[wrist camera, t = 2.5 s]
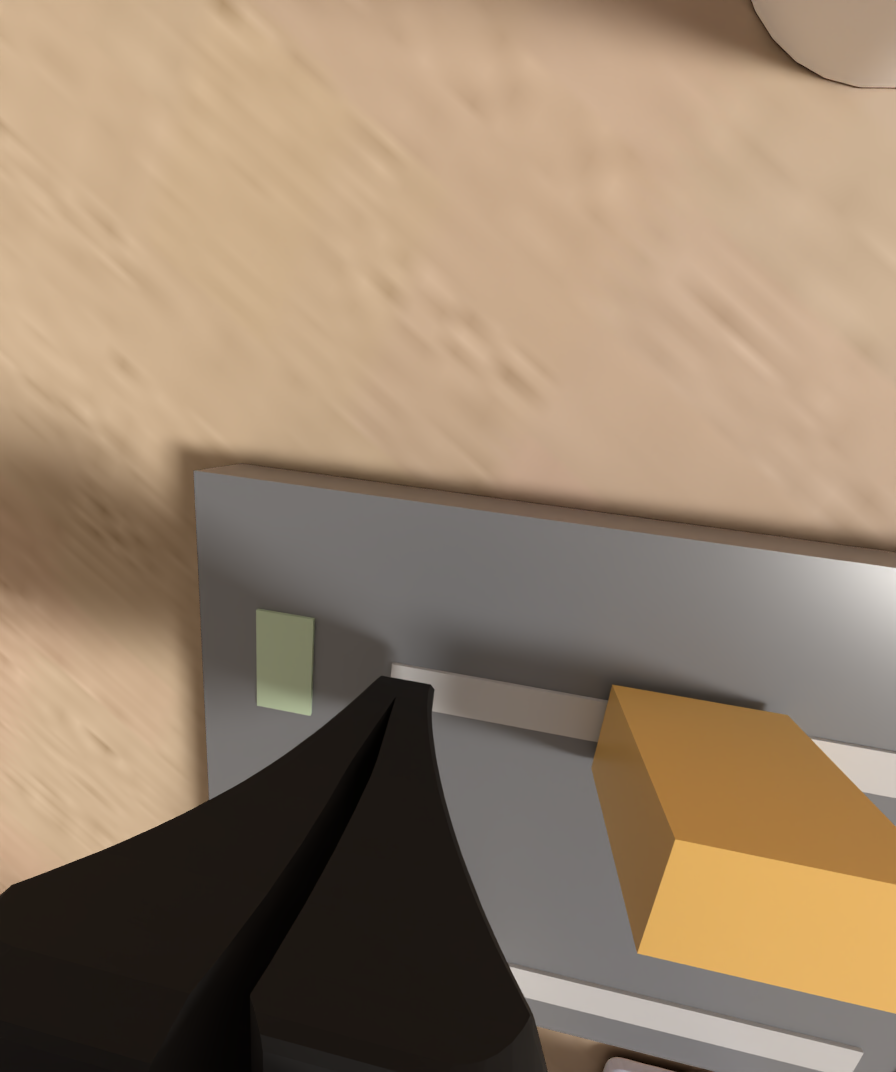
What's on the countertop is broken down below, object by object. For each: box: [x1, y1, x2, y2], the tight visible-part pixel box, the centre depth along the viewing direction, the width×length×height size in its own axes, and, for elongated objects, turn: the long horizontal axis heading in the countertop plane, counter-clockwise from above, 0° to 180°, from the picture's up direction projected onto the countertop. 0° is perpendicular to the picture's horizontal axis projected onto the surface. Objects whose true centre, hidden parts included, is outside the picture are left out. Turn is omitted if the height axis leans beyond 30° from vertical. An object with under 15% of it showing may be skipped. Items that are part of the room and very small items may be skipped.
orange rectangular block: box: [591, 685, 896, 1014], centre depth 8 cm, size 2×4×4 cm, turn 84°
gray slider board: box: [194, 464, 896, 1072], centre depth 13 cm, size 17×24×2 cm
